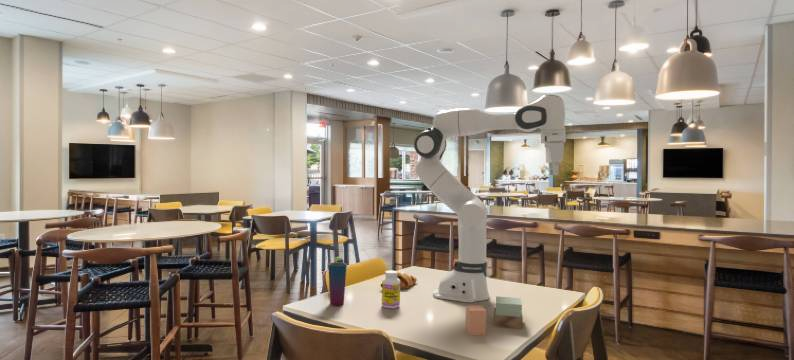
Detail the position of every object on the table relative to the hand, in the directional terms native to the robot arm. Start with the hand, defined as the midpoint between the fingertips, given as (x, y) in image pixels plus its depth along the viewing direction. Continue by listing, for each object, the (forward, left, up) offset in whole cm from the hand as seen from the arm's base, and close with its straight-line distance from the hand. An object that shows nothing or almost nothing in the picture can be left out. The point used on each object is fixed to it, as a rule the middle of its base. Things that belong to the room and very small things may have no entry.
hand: (554, 174), depth 169 cm
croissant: (-61, +10, -50) cm, 80 cm away
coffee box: (-85, -2, -50) cm, 99 cm away
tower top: (-16, -26, -46) cm, 55 cm away
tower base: (-16, -25, -50) cm, 58 cm away
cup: (-78, -22, -50) cm, 95 cm away
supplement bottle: (-58, -19, -50) cm, 79 cm away
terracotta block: (-26, -37, -50) cm, 67 cm away
